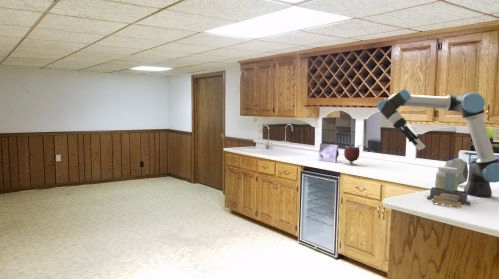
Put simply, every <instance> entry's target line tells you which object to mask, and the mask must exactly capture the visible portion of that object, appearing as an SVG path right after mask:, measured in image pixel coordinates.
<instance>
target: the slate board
mask: <svg viewBox="0 0 499 279" xmlns="http://www.w3.org/2000/svg"><path fill="white" fill-rule="evenodd" d="M455 177H456V173H452V172H445V183H444V190H446V191H453V192H454V188H455Z"/></svg>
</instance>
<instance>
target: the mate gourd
mask: <svg viewBox="0 0 499 279" xmlns="http://www.w3.org/2000/svg"><path fill="white" fill-rule="evenodd" d="M360 147H362V144H360V145H357V146H345V147H344V153H343V154H344V158H345V160H347V161H349V162H348V163H344V164H343V165H345V166H348V167H358V164H355V163H354V162H355V161H357V160H358V159H359V157H360Z"/></svg>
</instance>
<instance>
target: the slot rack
mask: <svg viewBox="0 0 499 279" xmlns="http://www.w3.org/2000/svg"><path fill="white" fill-rule="evenodd" d="M442 193H445V194H451V195H457V196H459V199H458V202H461V205H464V204H466V205H465V206H470V205H471V204H470V203H471V202H470V200H468V192H465V191H464V190H463V191H462V190H458V189H457V190H454V192H453V191H446V190H444V189H442V188H435V186H433V187H431V188H430V191H429V194H428V195H427V197H426V200H430V199H433V198H434V195H435V196H440V194H442Z"/></svg>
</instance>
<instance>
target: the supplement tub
mask: <svg viewBox="0 0 499 279" xmlns="http://www.w3.org/2000/svg"><path fill="white" fill-rule="evenodd" d="M437 170H438V171H436V174H435V185H434V187H435V188H442V189H444V183H445V172H452V173H456V177H455V188H454V190H457V191H458V188H459V185H458V178H459V175H458V173H457V172H458V169H457V168H452V167H444V166H438V167H437Z"/></svg>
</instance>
